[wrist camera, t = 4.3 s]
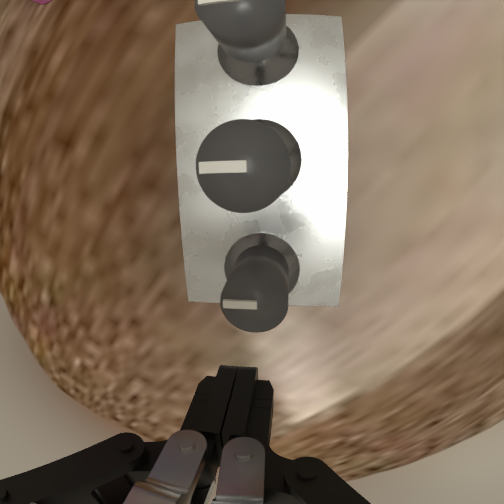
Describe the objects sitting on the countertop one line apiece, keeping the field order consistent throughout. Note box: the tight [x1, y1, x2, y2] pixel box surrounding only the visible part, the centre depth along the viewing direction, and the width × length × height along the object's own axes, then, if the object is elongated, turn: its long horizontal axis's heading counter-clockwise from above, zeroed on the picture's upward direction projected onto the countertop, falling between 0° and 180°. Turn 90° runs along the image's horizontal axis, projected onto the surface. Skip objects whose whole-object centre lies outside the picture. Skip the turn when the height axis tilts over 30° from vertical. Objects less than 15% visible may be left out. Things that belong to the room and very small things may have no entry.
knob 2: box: [220, 245, 289, 332], centre depth 20 cm, size 4×4×5 cm
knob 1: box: [195, 0, 286, 62], centre depth 12 cm, size 4×4×5 cm
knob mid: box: [196, 119, 291, 213], centre depth 15 cm, size 4×4×5 cm
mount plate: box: [175, 14, 348, 306], centre depth 22 cm, size 12×22×4 cm, turn 1°
